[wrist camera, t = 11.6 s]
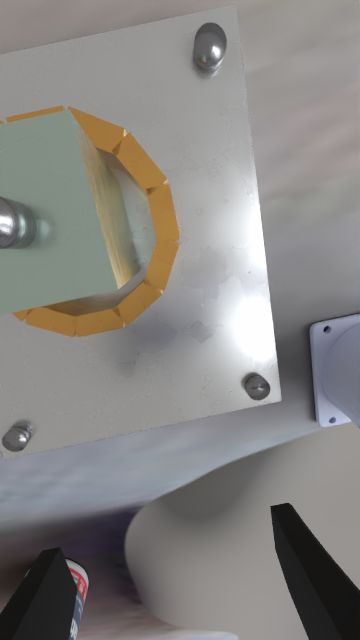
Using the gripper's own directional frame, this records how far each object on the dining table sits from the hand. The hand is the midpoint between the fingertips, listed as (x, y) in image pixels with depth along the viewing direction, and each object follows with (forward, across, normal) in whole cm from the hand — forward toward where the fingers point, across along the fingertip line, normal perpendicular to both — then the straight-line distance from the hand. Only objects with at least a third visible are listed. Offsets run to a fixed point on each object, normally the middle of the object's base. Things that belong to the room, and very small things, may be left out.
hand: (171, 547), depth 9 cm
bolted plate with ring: (+10, +2, -9) cm, 13 cm away
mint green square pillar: (+8, +2, -11) cm, 14 cm away
